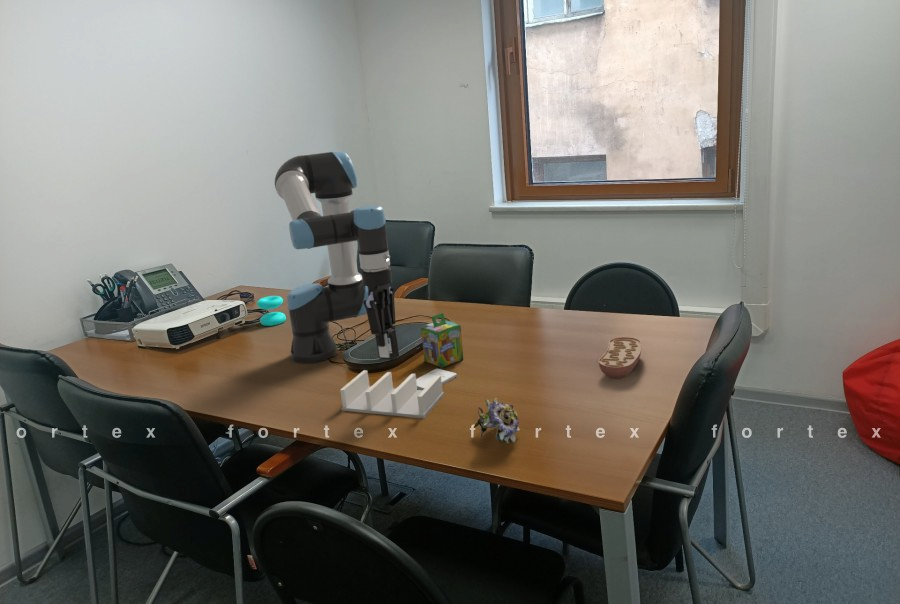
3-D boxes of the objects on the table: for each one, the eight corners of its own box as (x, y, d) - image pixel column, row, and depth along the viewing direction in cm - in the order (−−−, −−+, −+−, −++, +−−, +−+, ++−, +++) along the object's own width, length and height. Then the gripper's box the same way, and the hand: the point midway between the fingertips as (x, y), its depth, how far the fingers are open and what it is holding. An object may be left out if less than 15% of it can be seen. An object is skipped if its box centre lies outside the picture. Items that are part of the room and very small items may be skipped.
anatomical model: (612, 351, 191) (611, 336, 190) (646, 354, 187) (646, 338, 185) (595, 382, 171) (595, 365, 170) (633, 386, 167) (633, 368, 166)
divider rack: (366, 388, 181) (363, 369, 180) (444, 394, 172) (442, 375, 171) (341, 410, 169) (338, 390, 167) (424, 418, 160) (421, 397, 158)
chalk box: (441, 368, 190) (437, 322, 186) (423, 361, 197) (418, 316, 193) (464, 359, 195) (460, 313, 191) (446, 352, 202) (441, 308, 198)
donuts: (262, 303, 241) (252, 299, 249) (267, 328, 244) (256, 323, 252) (286, 297, 247) (275, 293, 255) (290, 321, 250) (279, 317, 258)
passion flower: (513, 462, 147) (511, 440, 137) (468, 450, 150) (463, 428, 140) (525, 419, 153) (524, 395, 143) (481, 409, 156) (478, 385, 146)
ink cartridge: (378, 359, 166) (374, 330, 164) (382, 356, 168) (378, 327, 166) (395, 360, 164) (391, 331, 162) (399, 356, 166) (395, 328, 164)
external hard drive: (407, 388, 180) (436, 372, 189) (428, 394, 175) (457, 378, 183) (406, 383, 179) (435, 367, 188) (428, 389, 174) (457, 373, 183)
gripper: (375, 276, 152) (387, 366, 159) (402, 261, 165) (411, 345, 172) (348, 275, 155) (361, 365, 161) (376, 261, 168) (387, 344, 175)
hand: (387, 354), depth 167 cm, fingers closed on ink cartridge, 2 cm apart
